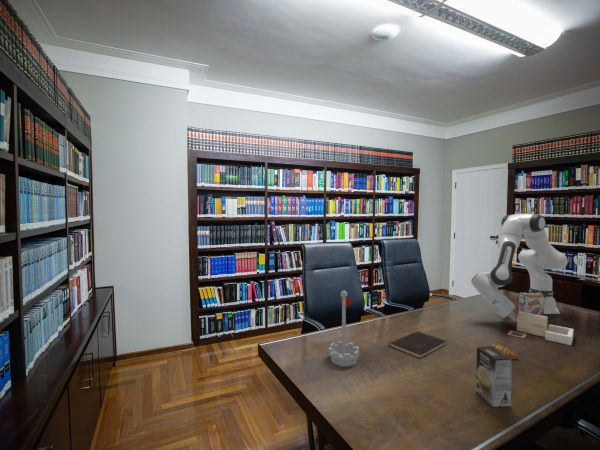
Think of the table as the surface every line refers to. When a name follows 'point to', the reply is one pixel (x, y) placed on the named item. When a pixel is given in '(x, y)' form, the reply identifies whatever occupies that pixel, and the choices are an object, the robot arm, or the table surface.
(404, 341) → the hardcover book
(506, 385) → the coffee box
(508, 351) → the pastry
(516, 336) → the plate
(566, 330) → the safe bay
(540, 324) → the maple block
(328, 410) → the table surface
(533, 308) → the candy bar box
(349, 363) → the flag stand
